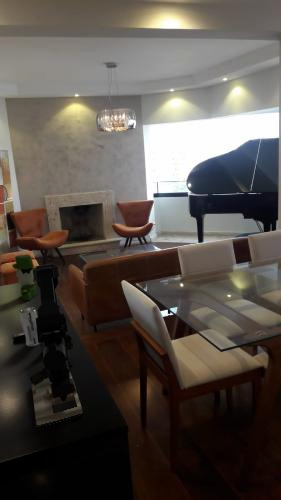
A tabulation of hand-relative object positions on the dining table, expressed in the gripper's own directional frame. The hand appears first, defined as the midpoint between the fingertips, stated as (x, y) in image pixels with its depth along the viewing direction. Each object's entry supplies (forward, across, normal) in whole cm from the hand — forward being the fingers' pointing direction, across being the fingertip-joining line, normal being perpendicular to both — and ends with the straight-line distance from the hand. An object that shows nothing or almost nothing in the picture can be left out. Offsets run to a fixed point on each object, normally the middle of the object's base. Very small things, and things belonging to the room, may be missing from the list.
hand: (63, 400), depth 113 cm
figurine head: (+4, -124, -5) cm, 124 cm away
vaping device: (+4, -43, -1) cm, 43 cm away
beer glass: (+4, -54, -6) cm, 54 cm away
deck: (+3, -7, -2) cm, 8 cm away
